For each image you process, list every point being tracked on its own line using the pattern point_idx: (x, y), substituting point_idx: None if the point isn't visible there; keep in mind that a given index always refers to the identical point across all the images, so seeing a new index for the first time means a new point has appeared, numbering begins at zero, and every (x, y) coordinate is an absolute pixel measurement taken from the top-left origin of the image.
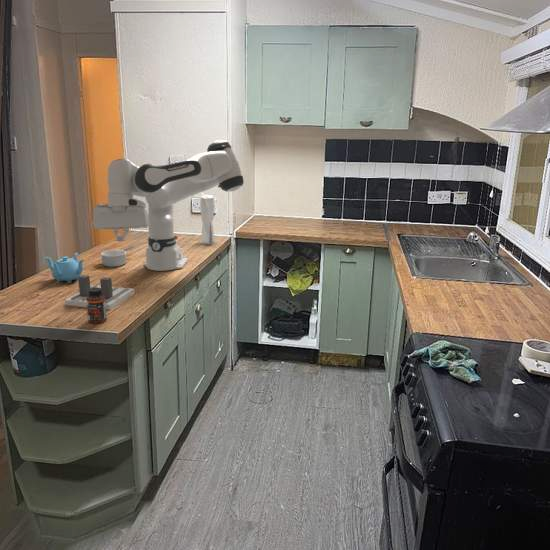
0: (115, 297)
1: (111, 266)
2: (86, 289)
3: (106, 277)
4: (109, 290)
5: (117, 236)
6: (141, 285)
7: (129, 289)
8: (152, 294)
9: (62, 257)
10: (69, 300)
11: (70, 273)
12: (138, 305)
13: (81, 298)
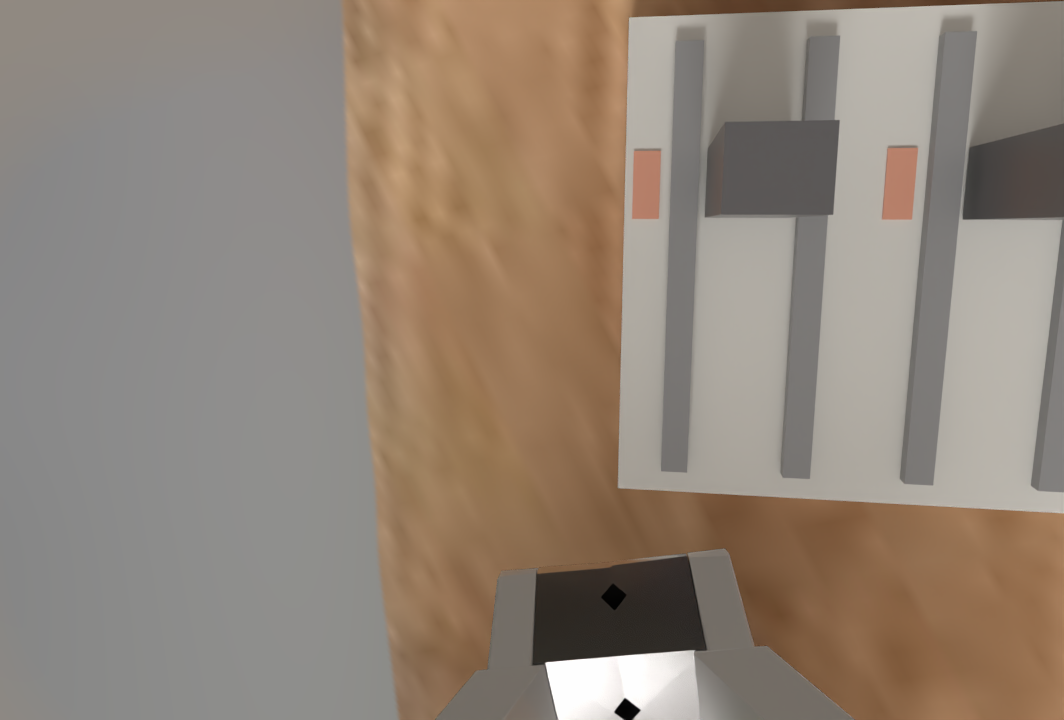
0: (670, 207)
1: None
2: (1006, 138)
3: (788, 209)
4: (712, 158)
5: (708, 632)
6: None
7: (653, 462)
8: (462, 489)
9: None
10: None
11: None
12: (450, 208)
13: (1012, 94)
